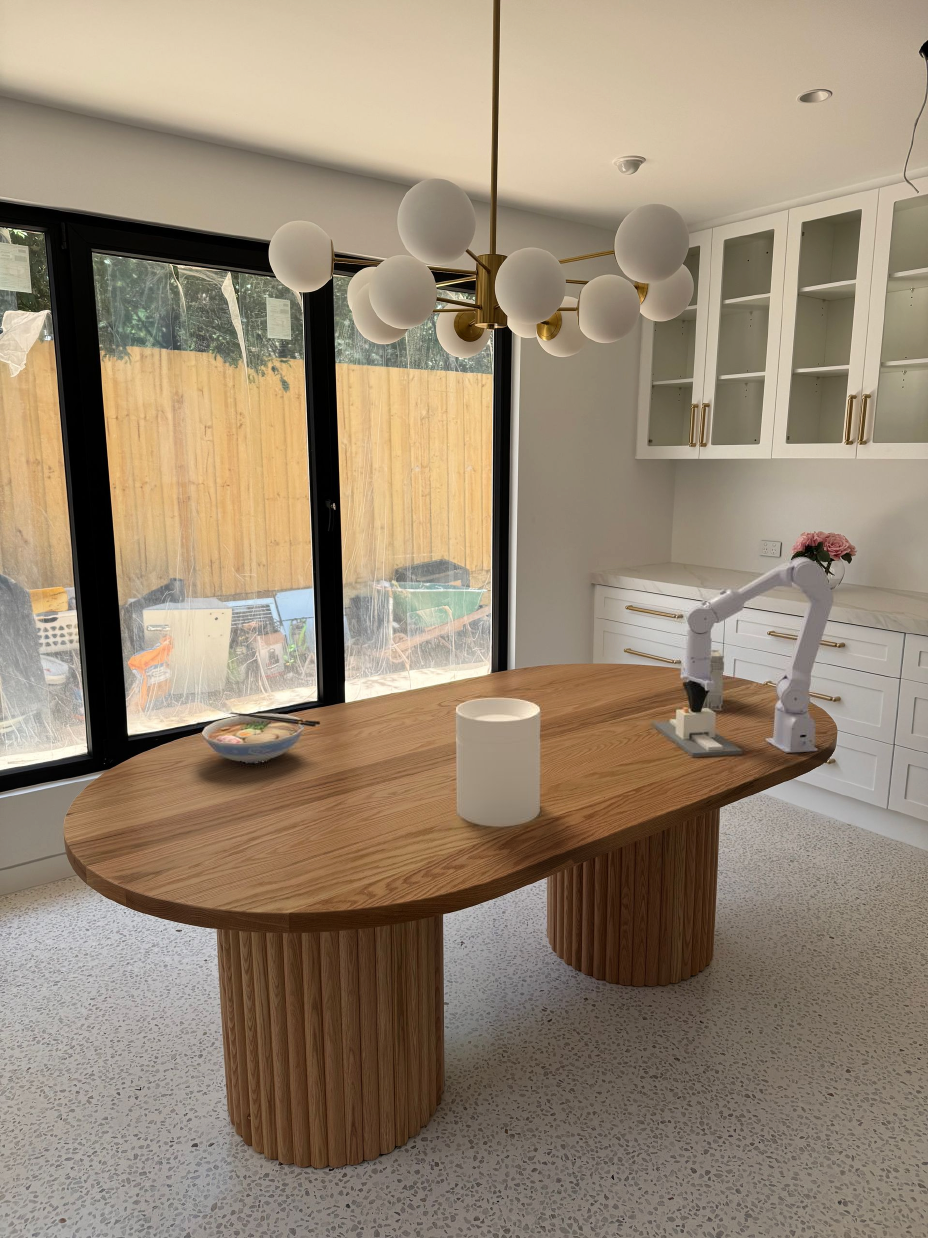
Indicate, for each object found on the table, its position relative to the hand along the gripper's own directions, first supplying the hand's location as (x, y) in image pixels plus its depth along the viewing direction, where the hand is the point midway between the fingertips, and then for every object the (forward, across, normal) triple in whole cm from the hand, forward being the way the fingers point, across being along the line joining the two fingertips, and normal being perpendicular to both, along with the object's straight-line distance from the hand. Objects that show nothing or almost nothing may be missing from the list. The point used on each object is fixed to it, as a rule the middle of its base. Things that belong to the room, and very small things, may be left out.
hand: (695, 712), depth 197 cm
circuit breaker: (+7, -30, +16) cm, 35 cm away
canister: (+7, +33, -55) cm, 64 cm away
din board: (+7, 0, 0) cm, 7 cm away
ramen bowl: (+7, -5, -104) cm, 104 cm away
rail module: (+6, 0, 0) cm, 6 cm away
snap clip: (+6, 0, 0) cm, 6 cm away
